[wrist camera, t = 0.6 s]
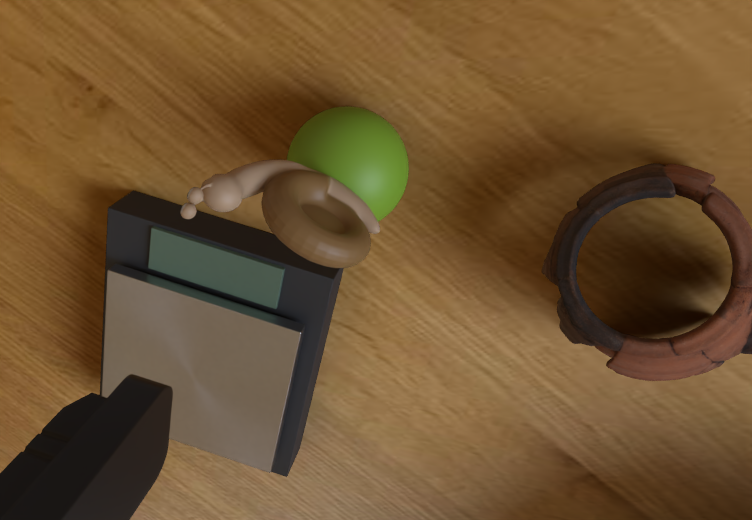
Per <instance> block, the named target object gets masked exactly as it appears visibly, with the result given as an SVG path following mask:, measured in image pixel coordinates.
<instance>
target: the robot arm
mask: <svg viewBox="0 0 752 520" xmlns="http://www.w3.org/2000/svg"><path fill="white" fill-rule="evenodd" d="M172 399H173V390H172V387H171V386H168V385H165V384H162V383H159V382H156V381H153V380H150V379H147V378H143V377H140V376H137V375H134V374H130V375H128V376H127V377H126V378H125V379H124V380H123V381H122V382H121V383H120V384H119V385H118V386H117V387H116V389H115V390H114V391H113V392H112V393H111V394H110V395H109V396H108V398H106V397H103V396H100V395H97V394H94V393H90V394H89V395H87V396H85V397H83V398H81V399H79V400H77V401H75V402H73V403H71V404H70V405H68V406H66V407H64V408H63V409H62V410H61V411H60V412H59V413H58V414H57V415H56V416H55V417H54V418H53V419H52V420H51V421H50V422H49V423H48V424H47V425H46V426H45V427H44V428H43V430H42V433H41V434H38V435H37V436H36V437H35V438H34V439H33V440H32V441H31V442H30V443H29V444H28V445H27V446H26V448H25V450H24V452H20V453H19V454H18V456H17V457H16V458H15V459H14V460H13V461H12V462H11V463H10V464H9V465H8V466H7V467H6V468H5V469H4V470H3V471H2V472H1V473H0V520H130V518H131V517H132V515H133V514H134V512H135V511H136V509H137V508H138V506H139V505H140V503H141V502H142V500H143V499H144V497H145V496H146V494H147V493H148V491H149V490H150V488H151V487H152V485H153V484H154V482H155V481H156V479H157V477H158V475H159V473H160V471H161V469H162V466H163V464H164V461H165V458H166V455H167V450H168V443H169V432H170V421H171V410H172Z"/></svg>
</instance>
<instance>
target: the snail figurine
mask: <svg viewBox="0 0 752 520" xmlns="http://www.w3.org/2000/svg"><path fill="white" fill-rule="evenodd" d="M408 172H409V164H408V157H407V152H406V149H405V146H404V144H403V141H402V139H401V138H400V136H399V134H398V133H397V131H396V130H395V129H394V128H393V127H392V126H391V125H390V124H389V123H388V122H387V121H386V120H385V119H384V118H382V117H381V116H379V115H377V114H376V113H374V112H371V111H369V110H366V109H363V108H359V107H351V106H344V107H336V108H331V109H328V110H325V111H323V112H321V113H319V114H317V115H315V116H314V117H312V118H311V119H309V120H308V121H307V122H306V123H305V124H304V125H303V126H302V127H301V128H300V129H299V131H298V132H297V134H296V135H295V137H294V139H293V141H292V143H291V145H290V148H289V151H288V155H287V160H263V161H258V162H253V163H250V164H246V165H243V166H241V167H238V168H236V169H234V170H232V171H230V172H228V173H227V174H215V175H213V176H212V177H211V178H209V179H207V180H205V181H204V182H203V184H202V186H201V188H198V187H193V188H191V189H190V191H189V192H188V195H187V199H188V200H189V202H191V203H193V204H191V203H185V204H184V205H183V206H182V208H181V211H180V214H181V216H182V217H183V218H185V219H191V218H193V217H194V216H195V215H196V207H195V205H196V204H197V203H200V202H201V201H204V202H205V203H206V205H207V206H208V207H210V208H211V209H213V210H215V211H218V212H229V211H232V210H234V209H236V208H237V207H238V206H239V205H240V203H241V201H242V199H244V198H247V197H250V196H253V195H256V194H258V193H261V192H264V193H263V197H262V210H263V215H264V217H265V220H266V222H267V224H268V226H269V227H270V229H271V230H272V232H273V233H274V234H275V235H276V236H277V238H278V239H279V240H280V241H281V242H282V243H284V244H285V245H286V246H287V247H288V248H289V249H291V250H292V251H294V252H295V253H297V254H298V255H300V256H302V257H303V258H305V259H307V260H309V261H312V262H314V263H317V264H319V265H323V266H327V267H332V268H347V267H351V266H354V265H357V264H358V263H360V262H361V261H363V260H364V259H365V257H366V256H367V254H368V253H369V250H370V246H371V238H370V234H369V233H373V234H377V233H379V231H380V226H379V223H378V221H380V220H382V219H383V218H384V217H386V216H387V215H388V214H389V213H390V212H391V211H392V210H393V209H394V208H395V207H396V205H397V204H398V202H399V201H400V199H401V197H402V195H403V193H404V191H405V188H406V185H407V180H408Z"/></svg>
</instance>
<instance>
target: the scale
mask: <svg viewBox="0 0 752 520" xmlns="http://www.w3.org/2000/svg"><path fill="white" fill-rule="evenodd" d="M181 208H182V206H181V205H178V204H175V203H172V202H168V201H165V200H162V199H159V198H156V197H153V196H149V195H146V194H143V193H140V192H137V191H132V192H130V193H129V194H128V195H126V196H125V197H123V198H122V199H120V200H119V201H117V202H116V203H114V204H113V205H112V206H110V207H109V208H108V221H107V244H106V267H105V290H104V313H103V336H102V359H101V382H100V396H102V382H103V360H104V338H105V316H106V294H107V272H108V270H109V269H110V268H111V267H112V266H113V265H115V264H119V265H122V266H125V267H128V268H131V269H134V270H137V271H140V272H143V273H147V274H150V275H153V276H156V277H159V278H162V279H165V280H168V281H171V282H174V283H177V284H181V285H184V286H187V287H190V288H193V289H196V290H199V291H202V292H205V293H208V294H212V295H215V296H218V297H221V298H224V299H227V300H230V301H233V302H236V303H239V304H242V305H246V306H249V307H252V308H255V309H258V310H261V311H264V312H267V313H270V314H273V315H277V316H280V317H283V318H286V319H289V320H292V321H295V322H298V323H301V324H304V325H305V330H304V335H303V339H302V344H301V348H300V353H299V357H298V362H297V366H296V371H295V375H294V380H293V384H292V389H291V393H290V398H289V402H288V407H287V411H286V416H285V420H284V424H283V429H282V433H281V438H280V442H279V447H278V451H277V456H276V460H275V464H274V466H273V468H272V470H271V472H274V473H277V474H280V475H283V476H286V477H287V476H288V473H289V471H290V469H291V467H292V464H293V462H294V460H295V458H296V455H297V453H298V451H299V449H300V445H301V441H302V437H303V432H304V428H305V424H306V420H307V416H308V412H309V408H310V404H311V400H312V396H313V391H314V387H315V383H316V379H317V375H318V371H319V367H320V363H321V359H322V355H323V351H324V346H325V342H326V338H327V334H328V330H329V326H330V322H331V318H332V314H333V310H334V305H335V301H336V297H337V293H338V289H339V285H340V281H341V277H342V273H343V269H344V268H332V267H327V266H323V265H319V264H317V263H314V262H312V261H309V260H307V259H305V258H303V257H302V256H300V255H298V254H297V253H295V252H294V251H292V250H291V249H289V248H288V247H287V246H286V245H285V244H284V243H282V242H281V241H280V240H279V239H278V238H277V236H276V235H273V234H270V233H267V232H264V231H261V230H258V229H254V228H251V227H248V226H245V225H242V224H238V223H235V222H232V221H229V220H226V219H223V218H219V217H216V216H213V215H210V214H207V213H203V212H200V211H197V210H196V215H195V216H194V217H193V218H191V219H185V218H183V217H182V216H181V214H180V211H181Z"/></svg>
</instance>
